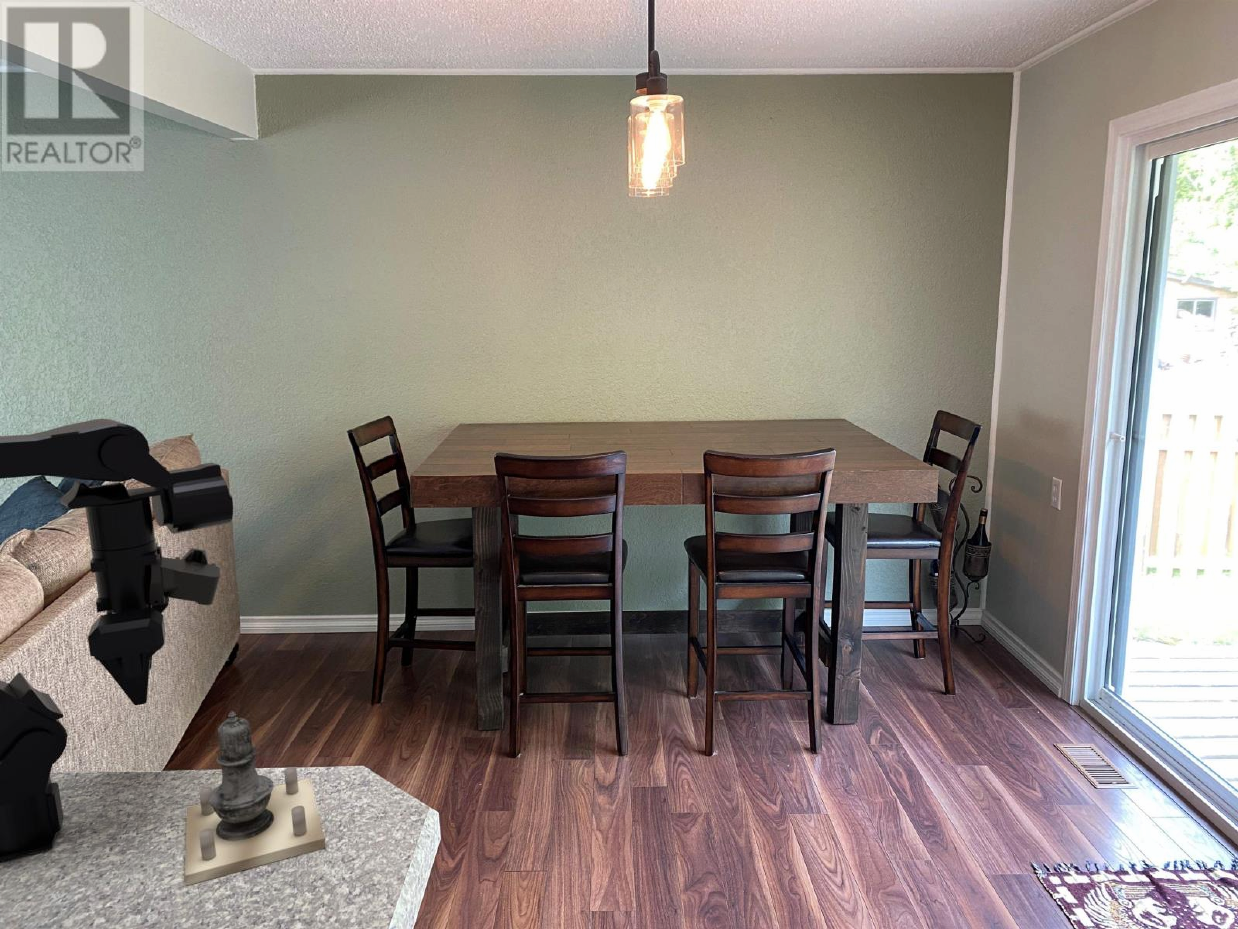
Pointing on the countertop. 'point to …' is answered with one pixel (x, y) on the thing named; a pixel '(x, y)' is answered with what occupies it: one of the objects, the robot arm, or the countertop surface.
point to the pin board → (283, 839)
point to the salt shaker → (240, 785)
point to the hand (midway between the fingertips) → (143, 686)
